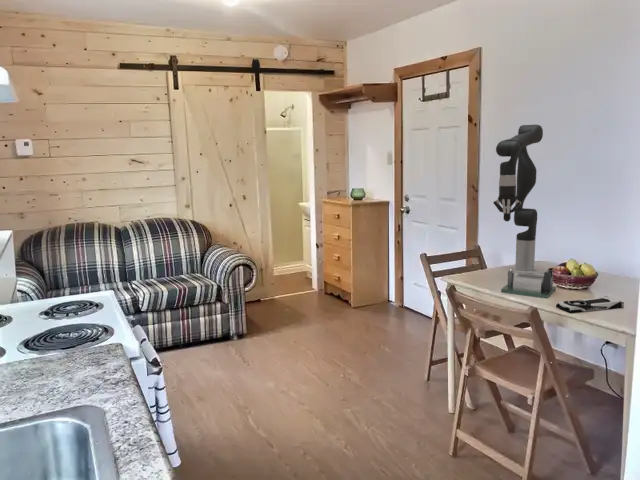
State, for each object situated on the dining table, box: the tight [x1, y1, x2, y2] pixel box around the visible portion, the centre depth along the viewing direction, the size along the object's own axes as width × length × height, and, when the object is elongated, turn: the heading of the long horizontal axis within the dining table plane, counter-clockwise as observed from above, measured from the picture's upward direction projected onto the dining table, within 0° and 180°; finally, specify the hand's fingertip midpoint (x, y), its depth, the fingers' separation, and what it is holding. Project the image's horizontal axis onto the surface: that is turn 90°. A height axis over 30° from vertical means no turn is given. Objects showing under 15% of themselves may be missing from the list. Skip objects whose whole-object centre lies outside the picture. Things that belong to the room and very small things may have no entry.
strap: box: [508, 268, 549, 275], centre depth 245 cm, size 17×3×2 cm, turn 55°
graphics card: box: [555, 295, 625, 314], centre depth 221 cm, size 10×3×25 cm
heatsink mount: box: [500, 269, 556, 299], centre depth 246 cm, size 20×16×10 cm
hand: (506, 221), depth 256 cm, fingers closed
